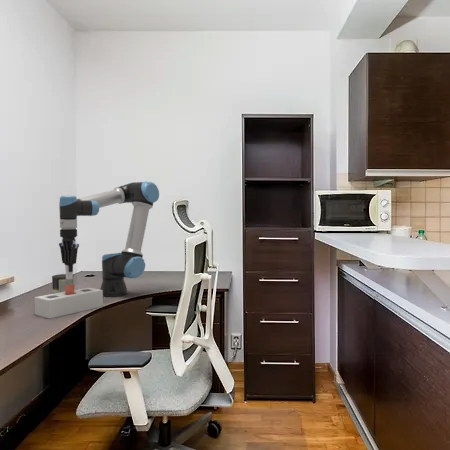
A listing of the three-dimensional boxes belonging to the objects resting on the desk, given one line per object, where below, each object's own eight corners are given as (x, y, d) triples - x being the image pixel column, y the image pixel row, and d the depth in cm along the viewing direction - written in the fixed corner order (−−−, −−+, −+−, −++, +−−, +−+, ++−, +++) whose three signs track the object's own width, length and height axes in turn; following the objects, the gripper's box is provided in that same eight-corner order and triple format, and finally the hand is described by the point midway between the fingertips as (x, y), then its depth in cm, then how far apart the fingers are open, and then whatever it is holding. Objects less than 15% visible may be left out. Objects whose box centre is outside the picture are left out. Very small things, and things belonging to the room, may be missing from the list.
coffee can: (48, 305, 205) (48, 277, 205) (57, 300, 216) (57, 274, 215) (69, 305, 205) (68, 277, 205) (77, 300, 215) (76, 273, 215)
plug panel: (88, 303, 209) (87, 287, 209) (102, 306, 202) (102, 290, 202) (35, 314, 187) (34, 297, 187) (49, 318, 180) (48, 300, 180)
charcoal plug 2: (87, 302, 205) (87, 288, 204) (92, 303, 202) (92, 289, 202) (80, 304, 201) (80, 290, 201) (85, 305, 199) (85, 291, 199)
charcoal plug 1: (54, 310, 190) (53, 295, 190) (59, 311, 188) (58, 296, 188) (45, 311, 187) (45, 296, 187) (50, 313, 185) (50, 297, 184)
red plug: (71, 298, 197) (71, 284, 197) (76, 299, 195) (76, 284, 195) (63, 300, 194) (63, 285, 194) (68, 301, 192) (68, 286, 191)
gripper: (53, 228, 194) (54, 278, 195) (69, 229, 186) (70, 281, 187) (67, 228, 200) (68, 276, 201) (83, 228, 192) (84, 278, 193)
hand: (69, 278), depth 194 cm, fingers closed
